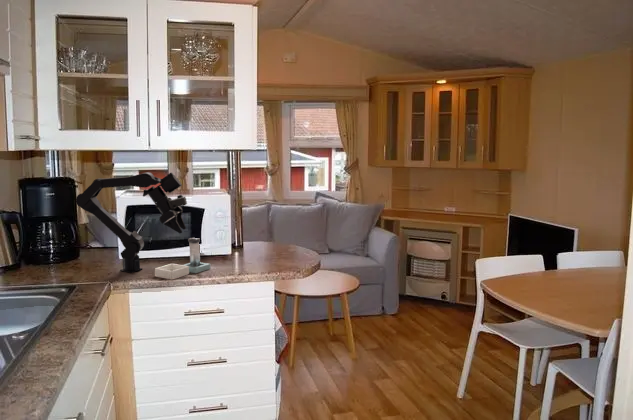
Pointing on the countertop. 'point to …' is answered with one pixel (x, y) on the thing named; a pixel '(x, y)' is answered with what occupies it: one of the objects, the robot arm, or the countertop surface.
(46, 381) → the countertop surface
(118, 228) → the robot arm
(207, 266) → the collar
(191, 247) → the salt shaker
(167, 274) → the tray
